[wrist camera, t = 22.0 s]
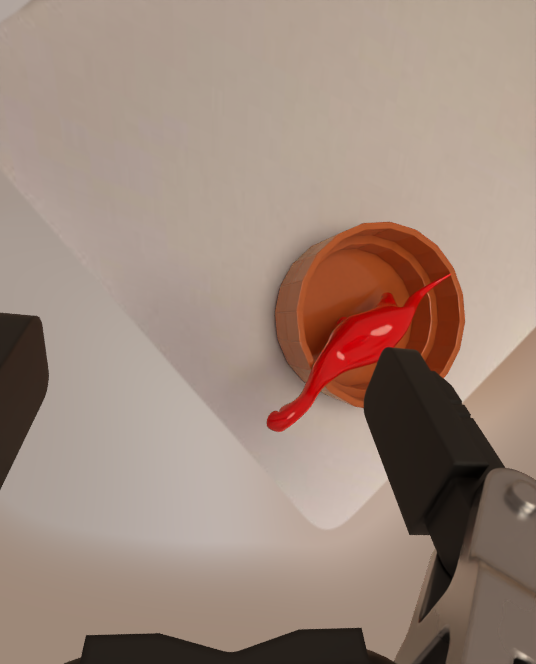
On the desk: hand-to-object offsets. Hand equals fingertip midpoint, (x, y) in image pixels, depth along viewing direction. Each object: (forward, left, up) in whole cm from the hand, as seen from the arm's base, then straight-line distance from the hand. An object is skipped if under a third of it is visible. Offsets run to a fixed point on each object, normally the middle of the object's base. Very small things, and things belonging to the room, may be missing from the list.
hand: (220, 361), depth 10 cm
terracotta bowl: (+16, 0, -24) cm, 29 cm away
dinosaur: (+16, -1, -22) cm, 27 cm away
